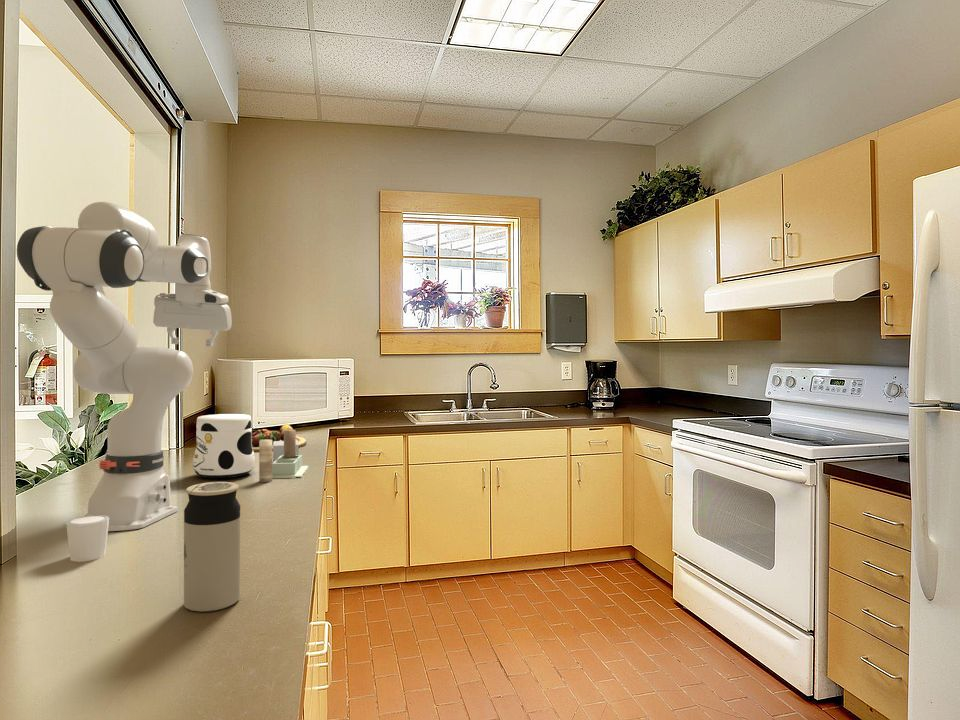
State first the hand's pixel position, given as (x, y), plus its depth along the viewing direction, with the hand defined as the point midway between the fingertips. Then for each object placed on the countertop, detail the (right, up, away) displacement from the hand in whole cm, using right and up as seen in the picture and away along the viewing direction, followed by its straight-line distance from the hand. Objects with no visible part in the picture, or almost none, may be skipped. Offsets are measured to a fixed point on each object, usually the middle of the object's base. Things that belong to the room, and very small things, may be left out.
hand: (192, 345), depth 173 cm
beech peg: (+17, -40, +9) cm, 44 cm away
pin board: (+20, -39, +22) cm, 49 cm away
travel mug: (+38, -42, -77) cm, 95 cm away
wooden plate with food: (-6, -39, +74) cm, 84 cm away
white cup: (+7, -41, -57) cm, 70 cm away
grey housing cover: (+15, -39, +36) cm, 55 cm away
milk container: (+2, -40, +16) cm, 43 cm away
